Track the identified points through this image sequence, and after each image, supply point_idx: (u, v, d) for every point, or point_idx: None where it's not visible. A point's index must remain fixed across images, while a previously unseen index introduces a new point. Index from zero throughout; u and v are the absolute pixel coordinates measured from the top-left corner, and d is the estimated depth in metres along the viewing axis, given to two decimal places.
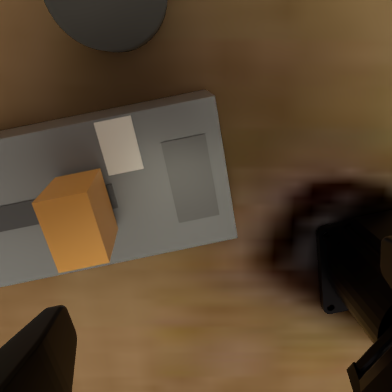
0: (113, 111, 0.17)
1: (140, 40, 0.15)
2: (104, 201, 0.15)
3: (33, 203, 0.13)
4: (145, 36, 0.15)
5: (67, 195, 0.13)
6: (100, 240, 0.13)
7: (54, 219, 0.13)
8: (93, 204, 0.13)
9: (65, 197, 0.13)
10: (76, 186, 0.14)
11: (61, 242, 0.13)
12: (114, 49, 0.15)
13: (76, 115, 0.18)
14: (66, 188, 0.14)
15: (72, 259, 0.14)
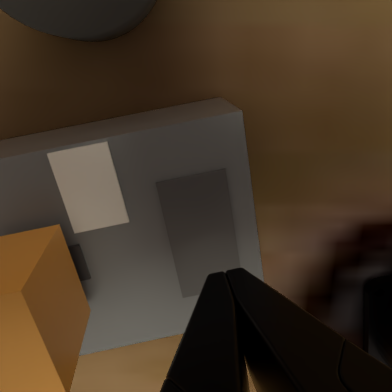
0: (83, 131, 0.11)
1: (122, 20, 0.09)
2: (64, 280, 0.09)
3: None
4: (130, 13, 0.09)
5: None
6: (49, 365, 0.08)
7: None
8: (37, 305, 0.08)
9: None
10: (10, 269, 0.08)
11: None
12: (80, 34, 0.09)
13: (32, 134, 0.13)
14: None
15: None
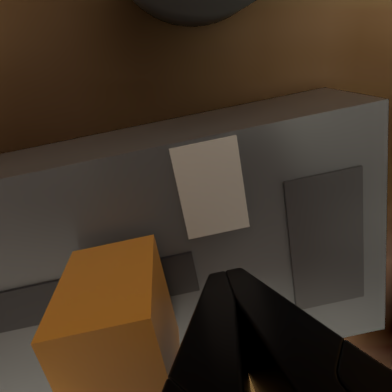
0: (189, 125, 0.10)
1: None
2: (164, 299, 0.08)
3: (34, 344, 0.06)
4: None
5: (107, 324, 0.06)
6: None
7: (79, 371, 0.06)
8: (159, 333, 0.06)
9: (104, 330, 0.06)
10: (122, 289, 0.07)
11: None
12: (210, 13, 0.08)
13: (120, 129, 0.11)
14: (101, 295, 0.07)
15: None
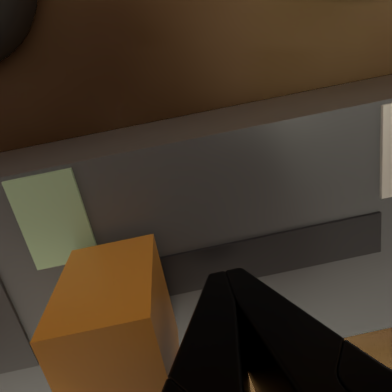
0: (365, 89, 0.10)
1: None
2: (164, 298, 0.08)
3: (33, 343, 0.06)
4: None
5: (108, 323, 0.06)
6: None
7: (78, 370, 0.06)
8: (158, 332, 0.06)
9: (103, 329, 0.06)
10: (121, 289, 0.07)
11: None
12: None
13: None
14: (100, 294, 0.07)
15: None
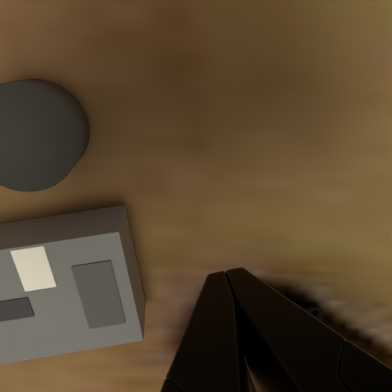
0: (35, 229, 0.19)
1: (54, 184, 0.17)
2: None
3: None
4: (58, 181, 0.17)
5: None
6: None
7: None
8: None
9: None
10: None
11: None
12: (31, 190, 0.17)
13: (7, 223, 0.20)
14: None
15: None
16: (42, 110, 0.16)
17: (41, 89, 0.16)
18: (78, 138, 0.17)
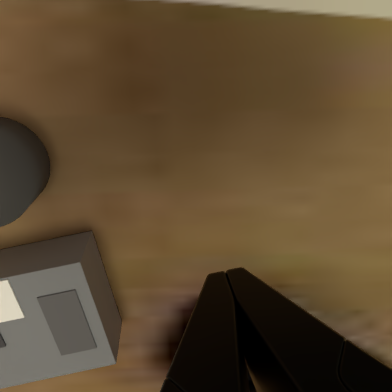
0: (3, 261, 0.20)
1: (13, 219, 0.18)
2: None
3: None
4: (17, 216, 0.18)
5: None
6: None
7: None
8: None
9: None
10: None
11: None
12: None
13: None
14: None
15: None
16: None
17: None
18: (32, 175, 0.17)
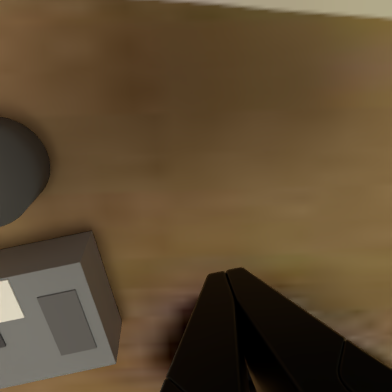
0: (3, 261, 0.20)
1: (13, 219, 0.18)
2: None
3: None
4: (17, 216, 0.18)
5: None
6: None
7: None
8: None
9: None
10: None
11: None
12: None
13: None
14: None
15: None
16: None
17: None
18: (32, 174, 0.17)
